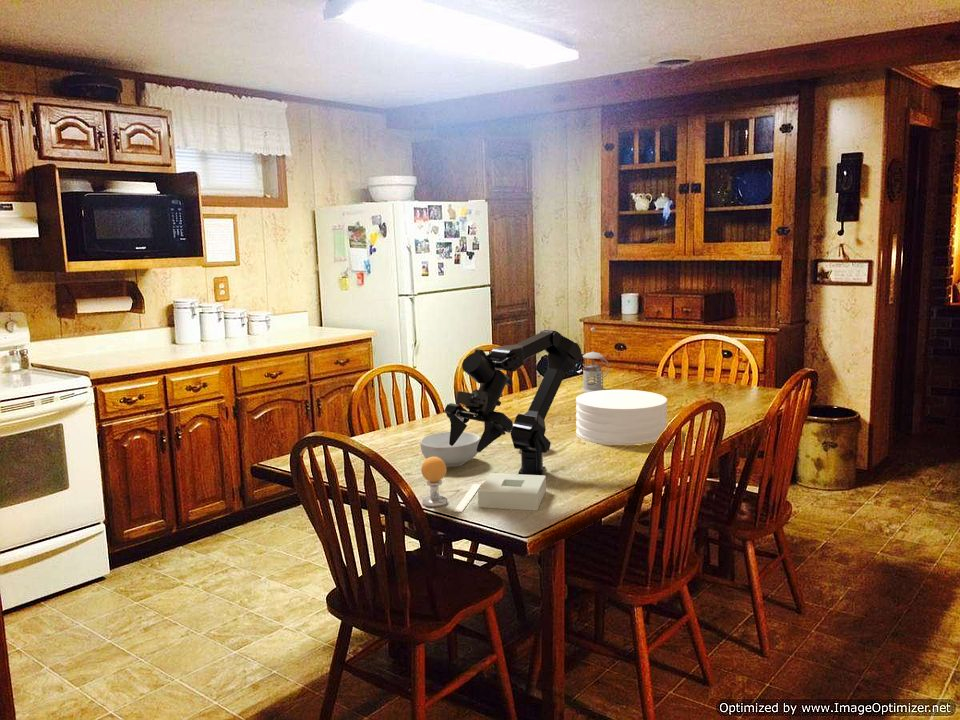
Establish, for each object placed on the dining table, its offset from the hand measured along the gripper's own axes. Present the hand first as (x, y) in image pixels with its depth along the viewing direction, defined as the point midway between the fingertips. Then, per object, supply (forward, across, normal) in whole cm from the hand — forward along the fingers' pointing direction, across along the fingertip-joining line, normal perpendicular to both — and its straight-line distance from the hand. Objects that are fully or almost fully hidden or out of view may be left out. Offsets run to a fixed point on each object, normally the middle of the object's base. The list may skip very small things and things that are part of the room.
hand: (464, 448), depth 196 cm
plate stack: (-36, -3, +66) cm, 75 cm away
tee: (+15, -3, +2) cm, 15 cm away
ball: (+8, -3, -4) cm, 9 cm away
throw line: (+10, +1, +8) cm, 12 cm away
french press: (-67, -48, +105) cm, 133 cm away
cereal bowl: (-2, -23, +22) cm, 32 cm away
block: (+6, +10, +12) cm, 17 cm away
